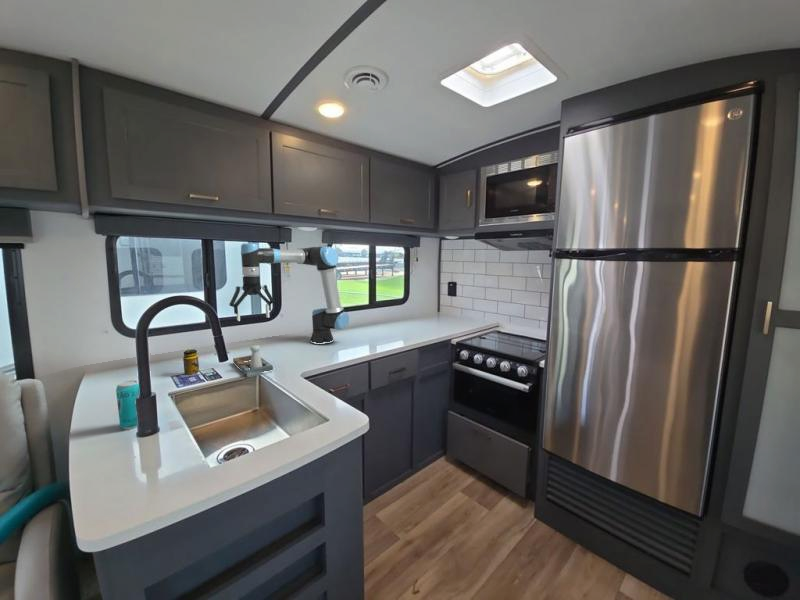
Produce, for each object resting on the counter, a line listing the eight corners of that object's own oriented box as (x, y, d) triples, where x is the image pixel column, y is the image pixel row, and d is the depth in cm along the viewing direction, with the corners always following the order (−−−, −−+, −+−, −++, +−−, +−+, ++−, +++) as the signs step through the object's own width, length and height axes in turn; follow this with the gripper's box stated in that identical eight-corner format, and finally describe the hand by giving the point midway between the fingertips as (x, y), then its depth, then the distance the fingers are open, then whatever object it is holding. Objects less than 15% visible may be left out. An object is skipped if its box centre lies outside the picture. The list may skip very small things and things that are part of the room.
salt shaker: (256, 373, 155) (254, 347, 154) (247, 372, 158) (245, 346, 156) (265, 369, 161) (264, 344, 159) (256, 368, 163) (255, 343, 161)
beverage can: (120, 425, 106) (115, 382, 104) (142, 420, 110) (138, 378, 108) (120, 432, 102) (115, 388, 100) (143, 426, 106) (138, 383, 104)
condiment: (201, 374, 154) (200, 350, 152) (181, 379, 148) (179, 354, 146) (198, 371, 159) (196, 347, 157) (177, 375, 153) (175, 351, 151)
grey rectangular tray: (233, 363, 170) (233, 358, 170) (257, 359, 178) (256, 354, 177) (247, 377, 150) (247, 371, 150) (273, 371, 158) (272, 365, 158)
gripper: (224, 276, 142) (227, 323, 145) (279, 275, 158) (281, 317, 161) (220, 276, 148) (223, 320, 151) (274, 274, 164) (276, 315, 167)
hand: (253, 318), depth 156 cm, fingers open, 13 cm apart
